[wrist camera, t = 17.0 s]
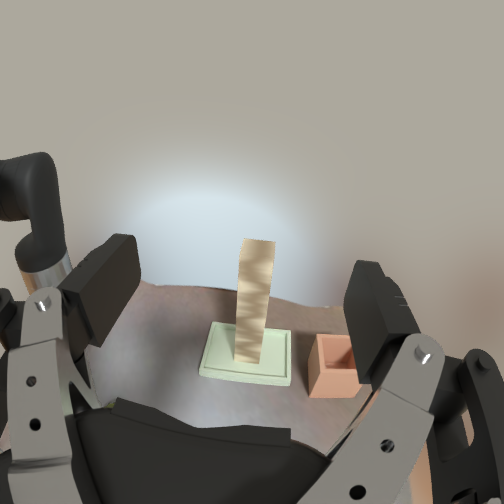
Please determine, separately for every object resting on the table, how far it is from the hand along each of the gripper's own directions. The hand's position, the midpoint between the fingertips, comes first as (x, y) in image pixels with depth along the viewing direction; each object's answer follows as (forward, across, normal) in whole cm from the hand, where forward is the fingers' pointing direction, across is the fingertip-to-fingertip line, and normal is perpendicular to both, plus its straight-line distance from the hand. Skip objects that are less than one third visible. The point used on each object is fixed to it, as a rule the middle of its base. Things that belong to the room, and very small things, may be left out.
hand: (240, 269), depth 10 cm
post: (+21, 0, +31) cm, 38 cm away
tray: (+22, 0, +32) cm, 39 cm away
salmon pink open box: (+18, -14, +32) cm, 39 cm away
